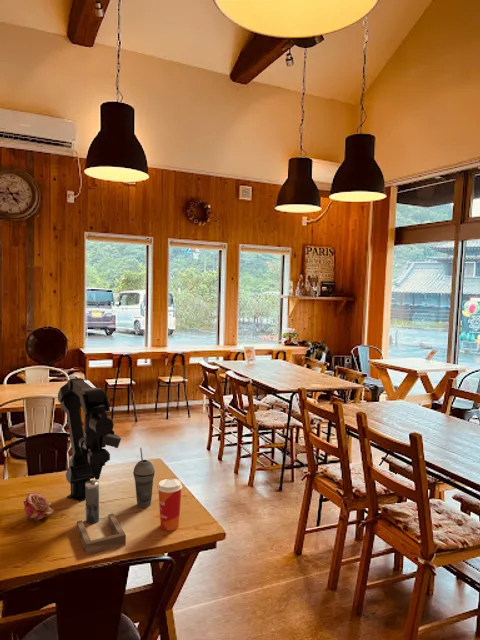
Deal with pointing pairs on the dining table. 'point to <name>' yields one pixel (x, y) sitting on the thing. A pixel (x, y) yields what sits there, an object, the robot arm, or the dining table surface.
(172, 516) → the paper cup
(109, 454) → the robot arm
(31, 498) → the flower
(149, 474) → the beverage cup
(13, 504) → the dining table surface
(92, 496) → the pepper mill
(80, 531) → the frame
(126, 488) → the dining table surface
